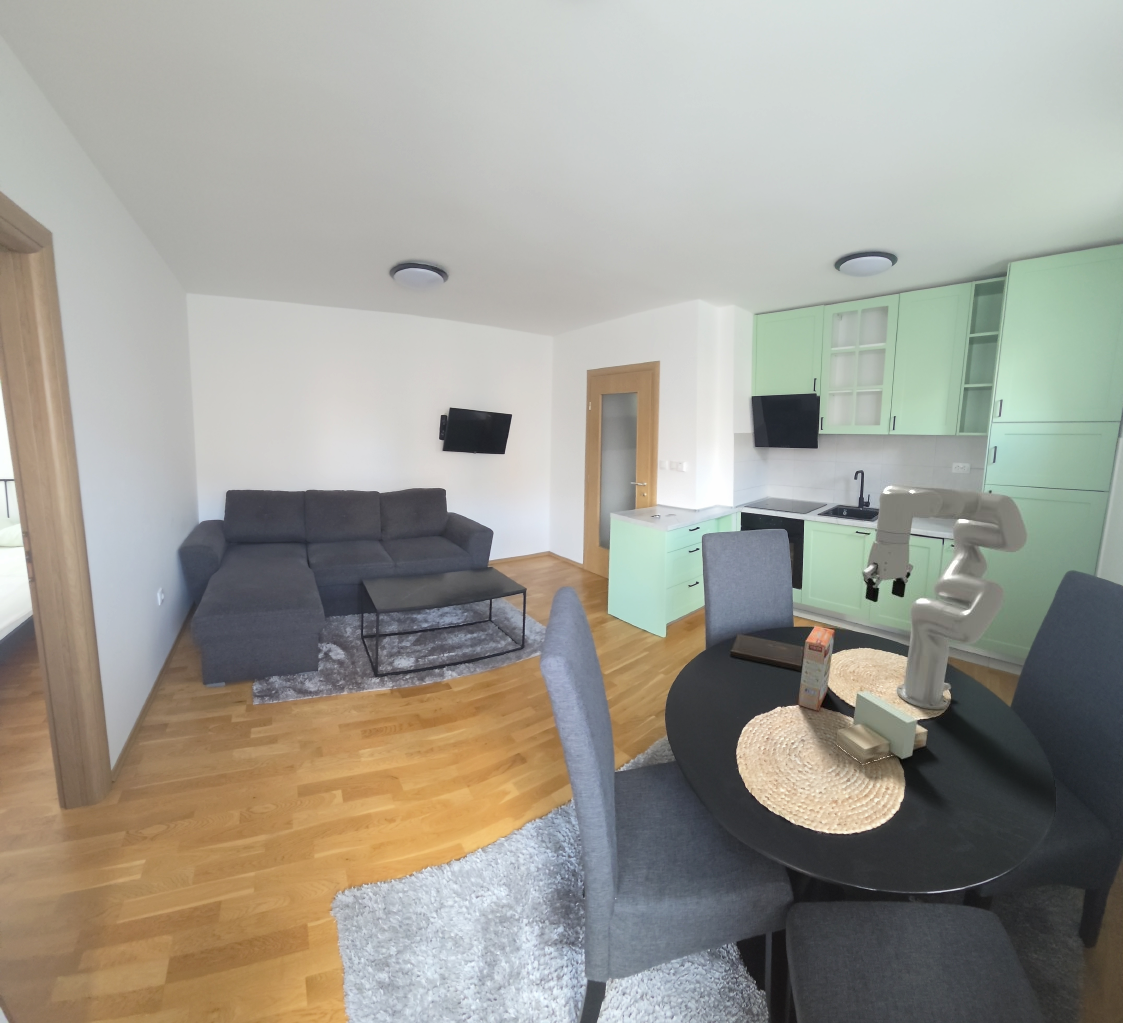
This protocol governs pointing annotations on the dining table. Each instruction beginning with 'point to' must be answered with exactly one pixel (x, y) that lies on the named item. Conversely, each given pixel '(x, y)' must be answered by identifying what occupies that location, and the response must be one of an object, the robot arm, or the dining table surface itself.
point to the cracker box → (816, 667)
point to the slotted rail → (871, 742)
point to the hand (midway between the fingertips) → (884, 598)
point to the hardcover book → (768, 652)
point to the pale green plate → (886, 722)
